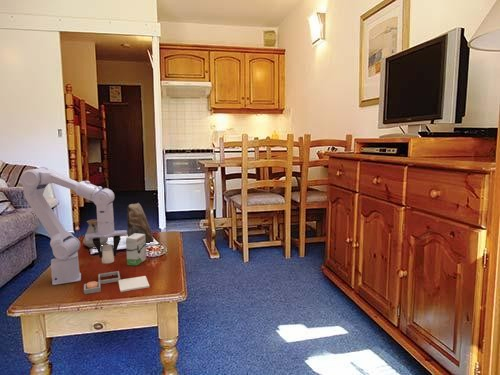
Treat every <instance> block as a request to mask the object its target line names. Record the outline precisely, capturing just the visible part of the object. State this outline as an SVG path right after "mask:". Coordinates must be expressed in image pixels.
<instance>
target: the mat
mask: <svg viewBox="0 0 500 375" xmlns="http://www.w3.org/2000/svg"><path fill="white" fill-rule="evenodd" d="M117 283H118V287H119V292H120V293H123V292H129V291H135V290H136V291H137V290H140V289H141V290H142V289H146V288H150V284H149V281H148V278H147V276H146V275H142V276H136V277H130V278H123V279H120V280H118V282H117Z"/></svg>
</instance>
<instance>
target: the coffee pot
mask: <svg viewBox="0 0 500 375" xmlns="http://www.w3.org/2000/svg"><path fill="white" fill-rule="evenodd" d="M86 223H87V224H88V226H87V229H86V232H85V234H91V233H97V232H98V224H97V218H94V219H93V218H92V219H89V220H87V221H86ZM108 240H109V239H108V238H101V239H100V246H101V245H107V243H108ZM82 242H83V245H85V246H86V247H87V248H90V247H96V246H95V245H94V243H93V239H92V240H87V241H86V239H85V236H84V238H83V240H82ZM90 249H91V248H90Z"/></svg>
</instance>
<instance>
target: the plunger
mask: <svg viewBox="0 0 500 375" xmlns="http://www.w3.org/2000/svg"><path fill="white" fill-rule="evenodd" d="M98 282H99V281H95V280H93V281H88V282H87V283H86V284H87V289H89V288H95V287H98Z"/></svg>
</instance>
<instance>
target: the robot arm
mask: <svg viewBox="0 0 500 375" xmlns="http://www.w3.org/2000/svg"><path fill="white" fill-rule="evenodd" d="M19 183H20V184H21V185H22V189H23V195H24V198H25V200H26V202H27V203H28V204H29V206H30V208H31V209H32V211H33V212H34V214H35V215H36V217H37V219H38V220H39V221H40V223H41V225H42V226H43V227H44V229H45V231H46V232H47V234H48V235H49V237H50V242H49V245H50V247H51V250H52V254H53V256H54V257H55V258H52V259H50V269H51V270H50V271H51V282H52V284H51V285H52V286H56V285H62V284H69V283H76V282H81V280H82V273H81V272H80V264H79V263H80V262H79V252H78V251H79V250H80V249H81V242H80V240H79V239H78V238H77V237H76V236H74V235H73V233H72V232H70V231H68V230H66V228H65V227H64V225H63V224H62V223H61V221H60V219H59V217H58V216H57V215H56V213H55V212H54V210H53V209H52V206H50V204H49V202H48V201H47V199H46V198H45V196H44V193H45V189H46V188H47V187H48V185H49V184H54V185H58V186H60V187H64V188H66V189H68V190H73V191H74V193H75V195H76V196H78V197H81V198H84V199H86V200H89V201H90V202H93V204H94V205H95V206H96V219H97V224H98V232H97V233H91V234H86V233H85V234H84V237H85V239H86V241H87V240H92V239H93V243H94V245H95V246H96V248H95V249H96V250H97V252H98V256H99V259H102V255H101V247H100V239H101V238H112V241H113V242H112V243H113V246H114V257H116V256H117V250H118V248H119V244H120V242H121V239H122V237H128V236H127V234H128V230H127V229H124V230H119V229H118V230H115V221H114V220H115V218H114V205H113V204H114V203H113V202H114V200H115V198H116V197H115V193H114V192H113V190H112V189H110V188H107V187H105V188H103V187H102V186H97V185H95V184H93V183H91V181H89V180H82V181H76V180H75V179H72V178H70V177H68V176H66V175H63V174H61V173H59V172H57V171H55V170H54V169H49V168H48V167H44V166H43V167H39V168H33V169H32V168H30V169H26V170H25V171H23V172H22V175H21V176H20V180H19Z"/></svg>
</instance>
